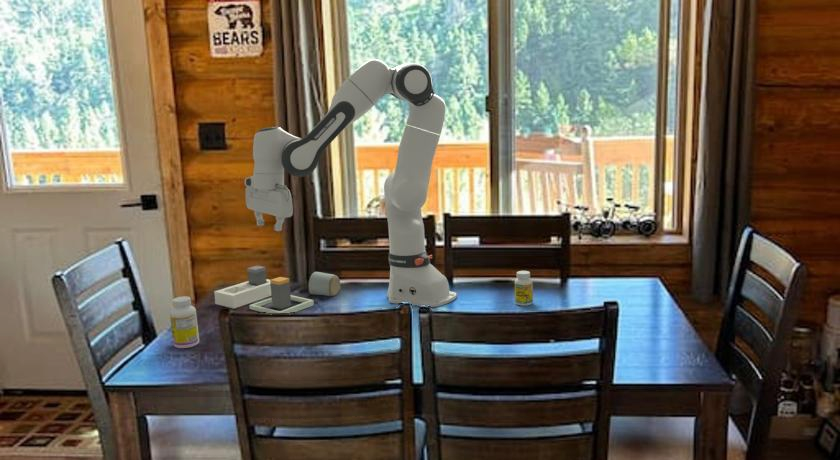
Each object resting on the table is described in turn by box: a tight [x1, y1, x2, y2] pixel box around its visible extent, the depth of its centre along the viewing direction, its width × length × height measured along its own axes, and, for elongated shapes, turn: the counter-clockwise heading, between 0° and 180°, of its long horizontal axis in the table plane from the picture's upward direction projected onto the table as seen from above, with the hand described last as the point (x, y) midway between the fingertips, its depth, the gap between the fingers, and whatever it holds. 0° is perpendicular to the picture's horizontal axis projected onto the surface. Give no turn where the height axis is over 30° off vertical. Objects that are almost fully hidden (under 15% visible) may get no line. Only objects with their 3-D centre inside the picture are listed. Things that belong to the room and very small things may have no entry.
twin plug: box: [247, 265, 267, 286], centre depth 232 cm, size 4×4×9 cm
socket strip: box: [213, 278, 272, 309], centre depth 229 cm, size 9×18×5 cm, turn 143°
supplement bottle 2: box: [514, 270, 534, 307], centre depth 216 cm, size 5×5×10 cm
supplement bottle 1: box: [169, 296, 200, 349], centre depth 193 cm, size 7×7×13 cm
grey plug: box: [269, 276, 292, 310], centre depth 219 cm, size 4×4×9 cm
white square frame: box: [248, 294, 315, 314], centre depth 220 cm, size 14×14×2 cm
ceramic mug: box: [308, 271, 341, 297], centre depth 233 cm, size 11×8×8 cm
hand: (269, 228), depth 216 cm, fingers open, 8 cm apart
